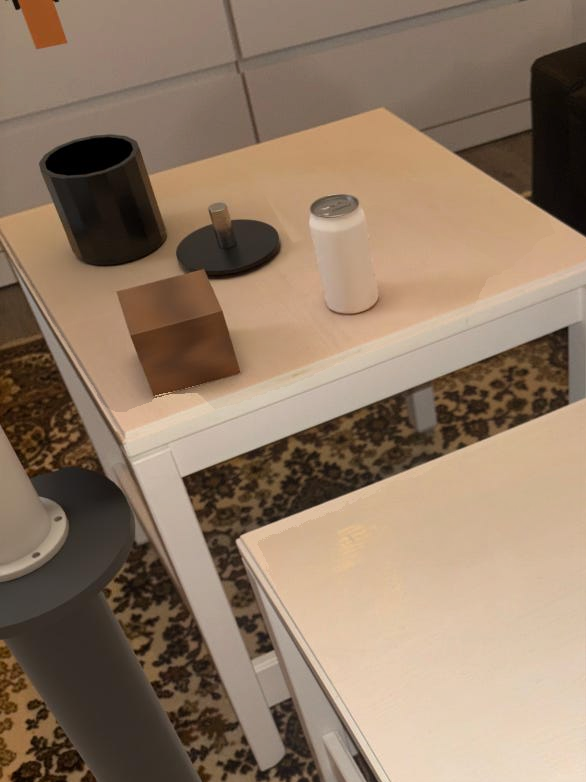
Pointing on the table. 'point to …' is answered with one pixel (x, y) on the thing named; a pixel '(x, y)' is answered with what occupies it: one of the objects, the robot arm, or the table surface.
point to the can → (343, 253)
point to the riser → (179, 332)
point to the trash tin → (104, 198)
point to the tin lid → (227, 244)
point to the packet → (43, 22)
